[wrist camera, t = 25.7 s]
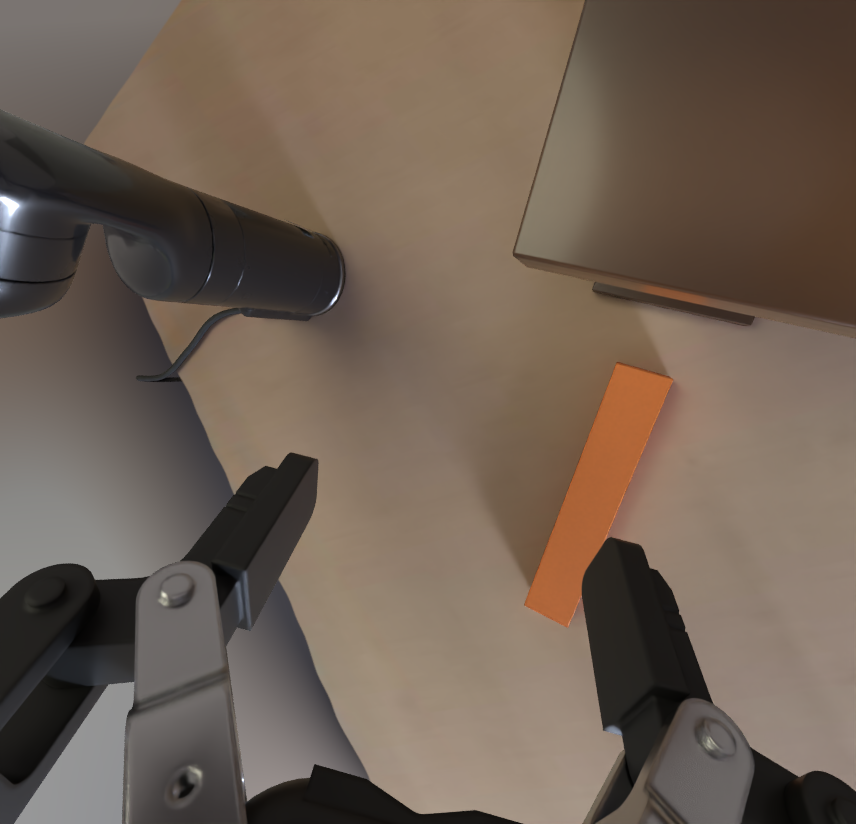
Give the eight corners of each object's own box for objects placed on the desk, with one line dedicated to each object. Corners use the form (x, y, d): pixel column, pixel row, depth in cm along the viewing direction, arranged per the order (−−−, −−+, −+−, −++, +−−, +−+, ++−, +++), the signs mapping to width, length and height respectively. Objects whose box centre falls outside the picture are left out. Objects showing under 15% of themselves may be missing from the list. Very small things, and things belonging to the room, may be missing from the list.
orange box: (571, 610, 43) (567, 628, 40) (529, 589, 44) (523, 605, 42) (669, 376, 36) (673, 379, 33) (616, 361, 38) (616, 363, 35)
